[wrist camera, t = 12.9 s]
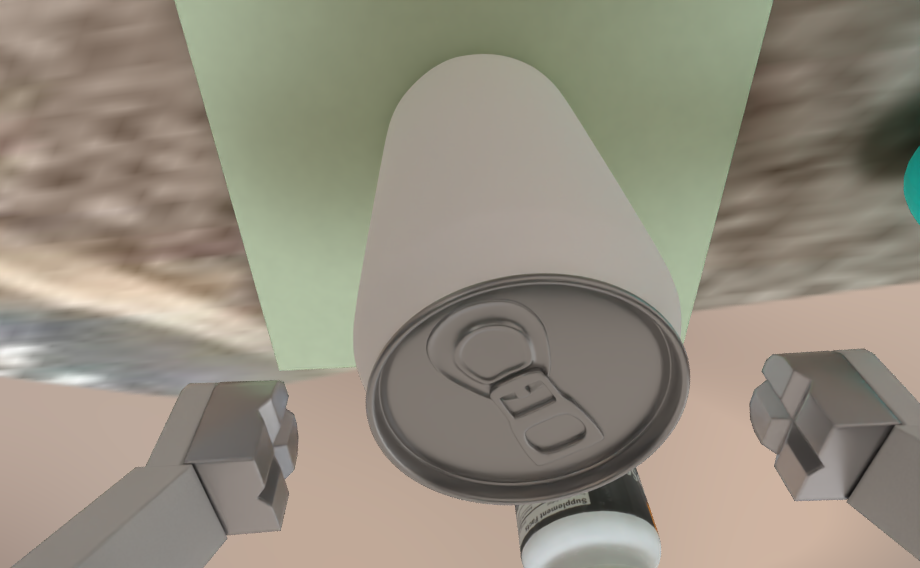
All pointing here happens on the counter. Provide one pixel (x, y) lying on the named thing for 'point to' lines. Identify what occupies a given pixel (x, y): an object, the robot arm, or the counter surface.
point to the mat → (394, 72)
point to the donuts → (913, 185)
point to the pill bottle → (591, 529)
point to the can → (511, 297)
